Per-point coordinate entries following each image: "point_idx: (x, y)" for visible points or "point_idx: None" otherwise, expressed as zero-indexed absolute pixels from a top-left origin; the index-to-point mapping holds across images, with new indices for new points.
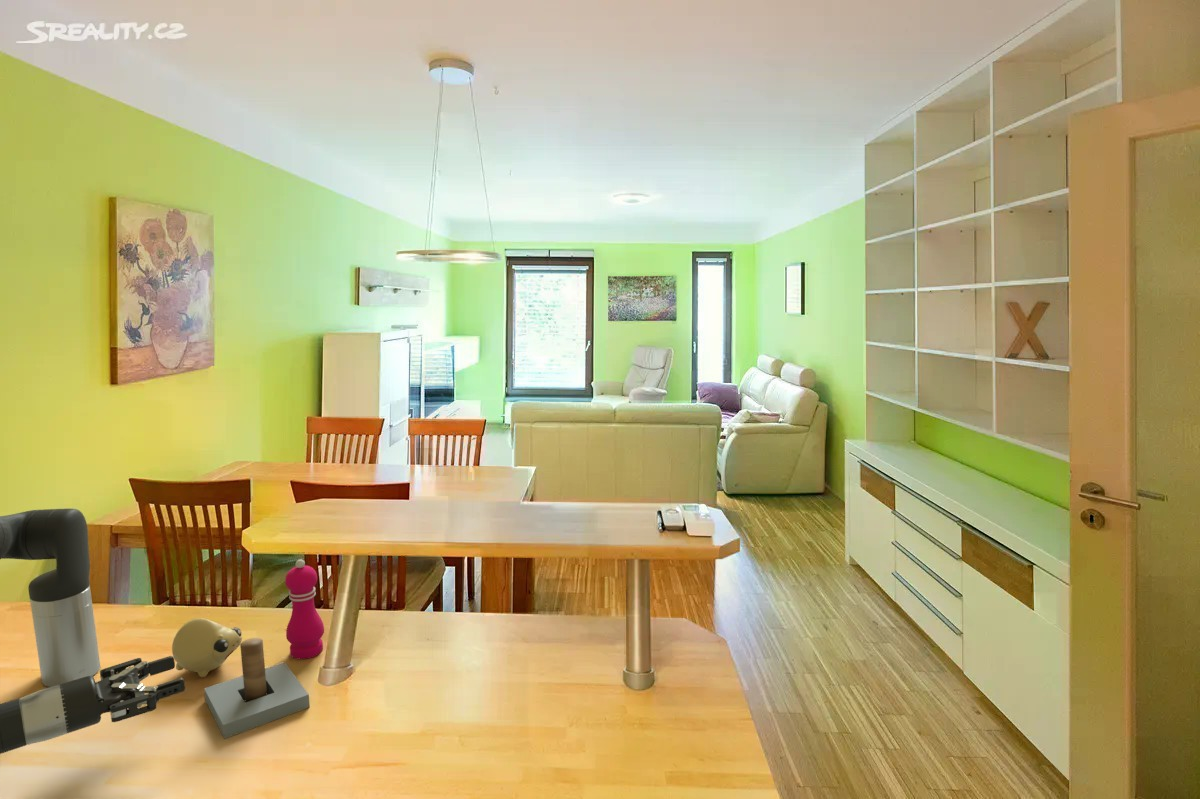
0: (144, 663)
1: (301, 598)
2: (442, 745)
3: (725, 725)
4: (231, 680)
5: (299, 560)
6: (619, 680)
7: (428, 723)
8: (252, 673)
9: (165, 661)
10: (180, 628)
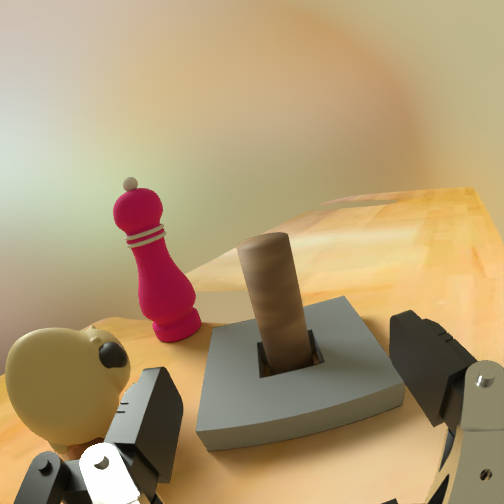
0: (108, 456)
1: (159, 232)
2: (448, 236)
3: (431, 190)
4: (206, 388)
5: (129, 177)
6: (382, 205)
7: (415, 244)
8: (300, 302)
9: (160, 394)
10: (7, 371)
